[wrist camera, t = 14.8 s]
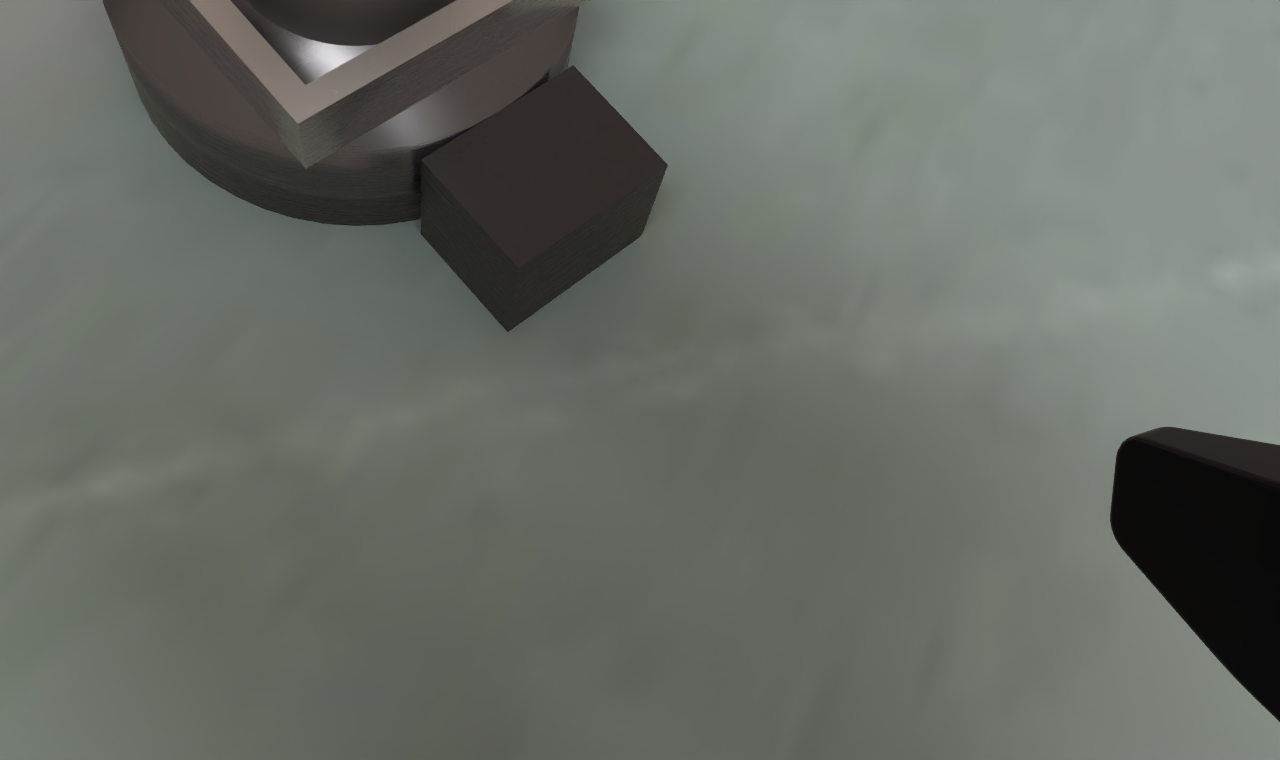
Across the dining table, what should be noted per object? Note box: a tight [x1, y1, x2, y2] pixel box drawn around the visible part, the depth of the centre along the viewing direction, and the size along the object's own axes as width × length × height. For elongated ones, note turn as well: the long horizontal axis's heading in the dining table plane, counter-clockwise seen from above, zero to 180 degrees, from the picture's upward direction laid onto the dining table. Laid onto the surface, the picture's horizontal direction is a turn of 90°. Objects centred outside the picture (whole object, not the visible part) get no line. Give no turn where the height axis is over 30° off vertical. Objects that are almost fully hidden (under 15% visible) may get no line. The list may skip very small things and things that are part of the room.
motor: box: [103, 0, 668, 332], centre depth 24 cm, size 13×10×4 cm
